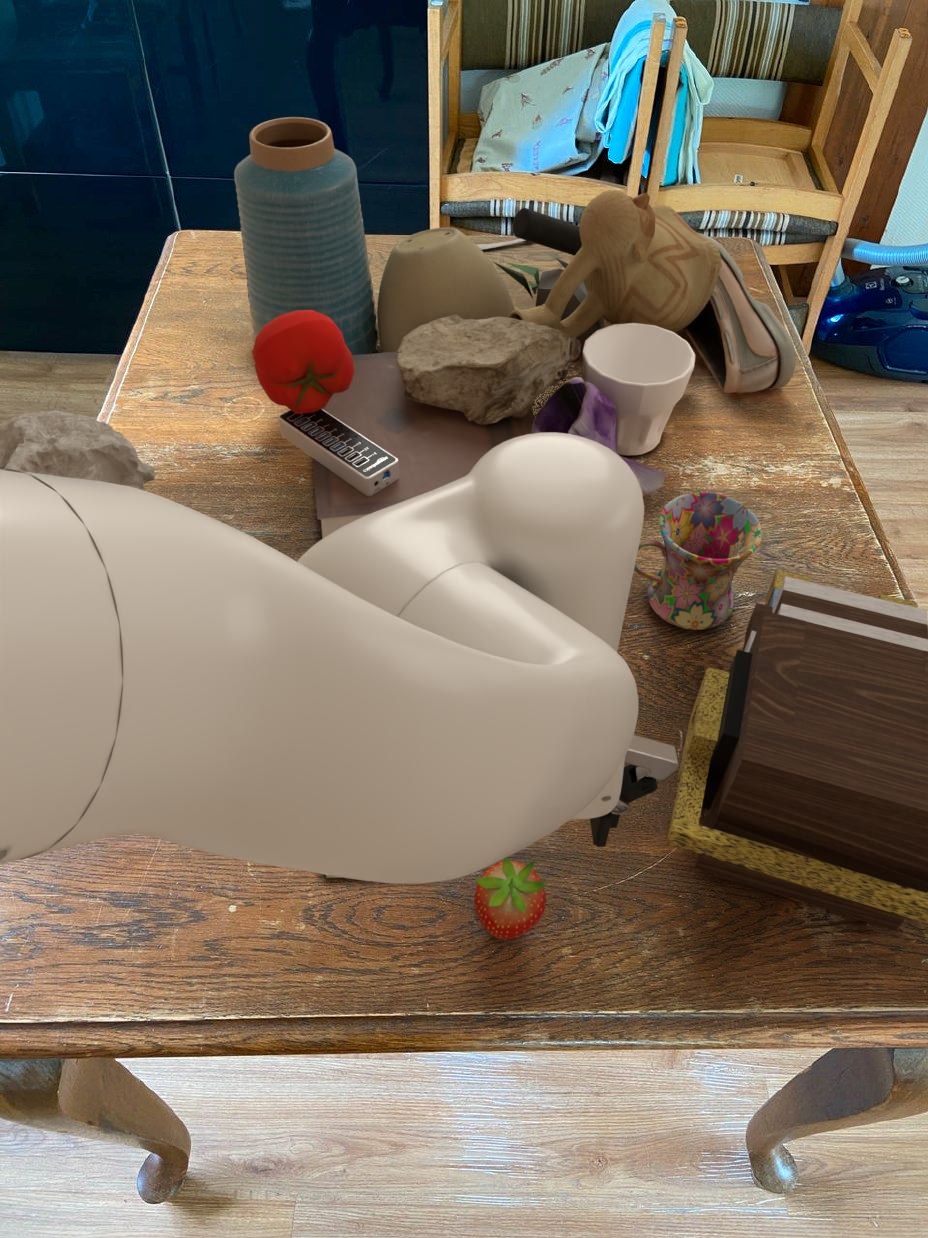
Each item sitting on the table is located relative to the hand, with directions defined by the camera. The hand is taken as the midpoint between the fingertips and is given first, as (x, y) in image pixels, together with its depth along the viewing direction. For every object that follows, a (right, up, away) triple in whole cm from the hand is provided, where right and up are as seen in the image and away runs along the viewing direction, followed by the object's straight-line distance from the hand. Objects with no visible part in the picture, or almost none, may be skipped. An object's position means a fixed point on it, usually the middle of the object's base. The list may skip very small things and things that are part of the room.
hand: (521, 828), depth 58 cm
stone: (-41, +33, +33) cm, 62 cm away
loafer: (+33, +55, +61) cm, 88 cm away
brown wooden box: (+31, +15, +25) cm, 42 cm away
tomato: (-21, +42, +35) cm, 59 cm away
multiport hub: (-17, +30, +37) cm, 51 cm away
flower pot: (-8, +60, +53) cm, 81 cm away
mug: (+17, +15, +33) cm, 40 cm away
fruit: (0, -10, +11) cm, 15 cm away
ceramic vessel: (+23, +57, +59) cm, 86 cm away
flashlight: (+14, +67, +66) cm, 95 cm away
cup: (+16, +35, +51) cm, 64 cm away
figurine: (+5, +34, +36) cm, 50 cm away
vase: (-23, +50, +63) cm, 83 cm away
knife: (+3, +70, +80) cm, 106 cm away
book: (-8, +31, +46) cm, 56 cm away
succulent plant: (+8, +56, +68) cm, 88 cm away
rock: (-10, +40, +47) cm, 62 cm away
